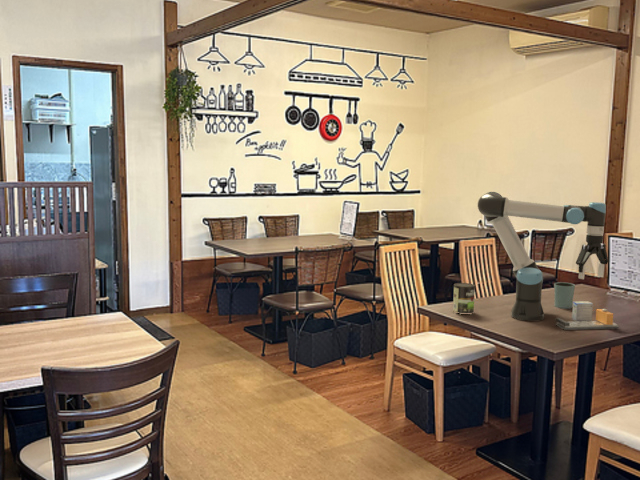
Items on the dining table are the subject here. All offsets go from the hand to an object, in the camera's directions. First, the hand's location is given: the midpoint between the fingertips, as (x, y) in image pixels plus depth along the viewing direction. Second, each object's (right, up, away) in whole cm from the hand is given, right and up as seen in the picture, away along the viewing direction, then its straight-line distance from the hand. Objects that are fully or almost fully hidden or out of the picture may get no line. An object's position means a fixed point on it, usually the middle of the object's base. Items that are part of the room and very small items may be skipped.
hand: (590, 277), depth 300 cm
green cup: (-5, -17, +22) cm, 28 cm away
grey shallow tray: (-9, -21, -17) cm, 29 cm away
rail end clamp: (-1, -19, -16) cm, 25 cm away
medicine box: (-6, -20, -4) cm, 22 cm away
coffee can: (-60, -18, +9) cm, 63 cm away
